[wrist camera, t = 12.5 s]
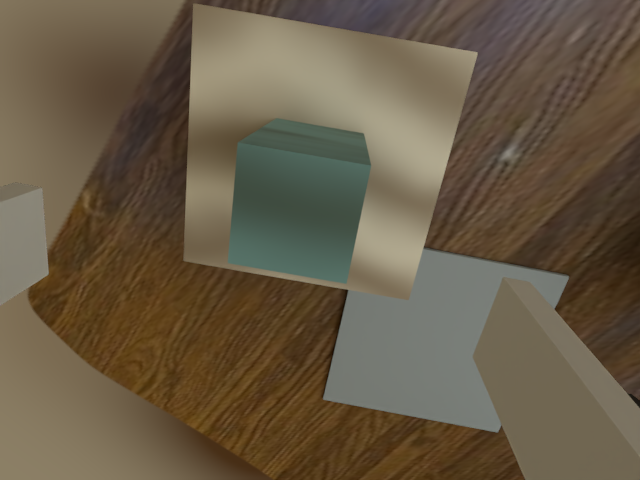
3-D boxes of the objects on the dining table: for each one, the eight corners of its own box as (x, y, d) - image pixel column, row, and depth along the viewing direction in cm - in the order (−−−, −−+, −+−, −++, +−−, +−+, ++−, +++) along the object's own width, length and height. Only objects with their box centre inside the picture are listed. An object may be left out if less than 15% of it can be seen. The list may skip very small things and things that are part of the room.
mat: (496, 429, 42) (497, 432, 42) (323, 396, 42) (323, 399, 42) (567, 274, 36) (569, 276, 35) (360, 235, 35) (360, 237, 35)
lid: (406, 291, 28) (433, 397, 19) (189, 253, 28) (112, 341, 19) (471, 53, 23) (555, 40, 13) (200, 6, 23) (98, -39, 13)
